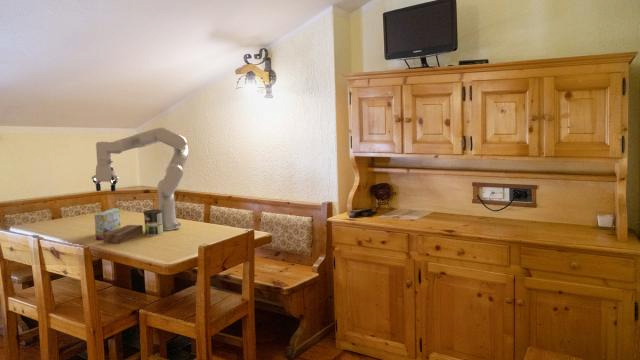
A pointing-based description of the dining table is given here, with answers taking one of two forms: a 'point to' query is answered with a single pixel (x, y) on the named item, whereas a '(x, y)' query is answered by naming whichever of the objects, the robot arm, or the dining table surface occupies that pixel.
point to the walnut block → (123, 234)
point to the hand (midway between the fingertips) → (105, 191)
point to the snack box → (107, 222)
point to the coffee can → (153, 222)
